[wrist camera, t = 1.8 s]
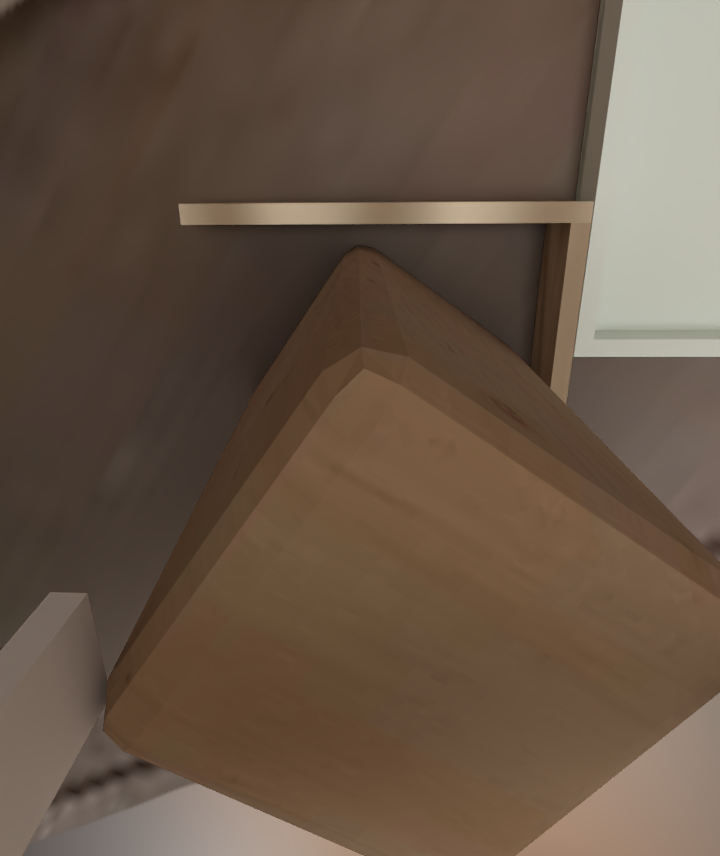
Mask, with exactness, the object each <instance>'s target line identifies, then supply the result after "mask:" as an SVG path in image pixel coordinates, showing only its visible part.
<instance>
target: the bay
mask: <svg viewBox="0 0 720 856" xmlns="http://www.w3.org/2000/svg"><path fill="white" fill-rule="evenodd" d="M178 205H179V213H180V222H181V225H280V224H463V223H546V229H545V238H544V247H543V256H542V265H541V274H540V283H539V292H538V301H537V310H536V319H535V328H534V337H533V346H532V355H531V364H530V368H531V369H532V370H533V371H534V372H535V373H536V374H537V375H538V376H539V377H540V378H541V379H542V380H543V381H544V383H545V384H546V385H547V386H548V387H549V388H550V389H551V390H552V391H553V392H554V393H555V394H556V395H557V396H558V397H559V398H560V399H561V400H562V401H563V402H564V403H565V404H566V401H567V394H568V387H569V380H570V372H571V365H572V358H573V351H574V344H575V336H576V329H577V322H578V315H579V308H580V300H581V293H582V286H583V279H584V271H585V264H586V257H587V250H588V243H589V235H590V228H591V221H592V214H593V207H594V201H440V202H280V203H190V204H178Z"/></svg>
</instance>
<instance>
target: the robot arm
mask: <svg viewBox="0 0 720 856" xmlns="http://www.w3.org/2000/svg"><path fill="white" fill-rule="evenodd" d="M106 696H107V678H106V673H105V669H104V664H103V660H102V656H101V651H100V647H99V642H98V638H97V634H96V629H95V625H94V620H93V616H92V611H91V607H90V603H89V598H88V594H87V593H59V592H50V593H49V594H48V596H47V597H46V598H45V599H44V600H43V601H42V603H41V604H40V605H39V606H38V607H37V608H36V610H35V611H34V612H33V613H32V614H31V615H30V617H29V618H28V619H27V620H26V621H25V623H24V624H23V625H22V626H21V627H20V628H19V630H18V631H17V632H16V633H15V634H14V635H13V637H12V638H11V639H10V640H9V641H8V642H7V644H6V645H5V646H4V647H3V648H2V650H1V651H0V856H22V855H23V853H24V851H25V849H26V848H27V846H28V844H29V842H30V841H31V839H32V837H33V835H34V833H35V832H36V830H37V828H38V826H39V824H40V823H41V821H42V819H43V817H44V815H45V813H46V812H47V810H48V808H49V806H50V804H51V803H52V801H53V799H54V797H55V795H56V794H57V792H58V790H59V788H60V786H61V785H62V783H63V781H64V779H65V777H66V776H67V774H68V772H69V770H70V768H71V767H72V765H73V763H74V761H75V759H76V758H77V756H78V754H79V752H80V750H81V748H82V747H83V745H84V743H85V741H86V739H87V738H88V736H89V734H90V732H91V730H92V729H93V727H94V725H95V723H96V721H97V720H98V718H99V716H100V714H101V712H102V711H103V709H104V707H105V705H106Z"/></svg>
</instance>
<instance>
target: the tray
mask: <svg viewBox="0 0 720 856" xmlns="http://www.w3.org/2000/svg"><path fill="white" fill-rule="evenodd" d="M575 201H594V207H593V214H592V221H591V228H590V235H589V243H588V250H587V257H586V264H585V271H584V279H583V286H582V293H581V300H580V308H579V315H578V322H577V329H576V336H575V344H574V351H573V357H720V0H601V1H600V9H599V17H598V25H597V33H596V41H595V49H594V56H593V64H592V72H591V80H590V88H589V96H588V104H587V112H586V120H585V127H584V135H583V143H582V151H581V159H580V167H579V175H578V183H577V190H576V198H575Z"/></svg>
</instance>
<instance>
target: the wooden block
mask: <svg viewBox="0 0 720 856" xmlns="http://www.w3.org/2000/svg"><path fill="white" fill-rule="evenodd" d="M719 692H720V562H719V561H718V560H717V559H716V558H715V557H714V556H713V555H712V554H711V553H710V552H709V551H708V550H707V548H706V547H705V546H704V545H703V544H702V543H701V542H700V541H699V540H698V539H697V538H696V537H695V536H694V535H693V534H692V533H691V532H690V531H689V530H688V529H687V528H686V527H685V526H684V525H683V524H682V523H681V522H680V521H679V520H678V519H677V518H676V517H675V516H674V515H673V514H672V513H671V512H670V511H669V510H668V509H667V508H666V506H665V505H664V504H663V503H662V502H661V501H660V500H659V499H658V498H657V497H656V496H655V495H654V494H653V493H652V492H651V491H650V490H649V489H648V488H647V487H646V486H645V485H644V484H643V483H642V482H641V481H640V480H639V479H638V478H637V477H636V476H635V475H634V474H633V473H632V472H631V471H630V470H629V469H628V468H627V467H626V466H625V464H624V463H623V462H622V461H621V460H620V459H619V458H618V457H617V456H616V455H615V454H614V453H613V452H612V451H611V450H610V449H609V448H608V447H607V446H606V445H605V444H604V443H603V442H602V441H601V440H600V439H599V438H598V437H597V436H596V435H595V434H594V433H593V432H592V431H591V430H590V429H589V428H588V427H587V426H586V425H585V424H584V422H583V421H582V420H581V419H580V418H579V417H578V416H577V415H576V414H575V413H574V412H573V411H572V410H571V409H570V408H569V407H568V406H567V405H566V404H565V403H564V402H563V401H562V400H561V399H560V398H559V397H558V396H557V395H556V394H555V393H554V392H553V391H552V390H551V389H550V388H549V387H548V386H547V385H546V384H545V383H544V381H543V380H542V379H541V378H540V377H539V376H538V375H537V374H536V373H535V372H534V371H533V370H532V369H531V368H530V367H529V366H528V365H527V364H526V363H525V362H524V361H523V360H522V359H521V358H520V357H519V356H518V355H517V354H516V353H515V352H514V351H513V350H512V349H511V348H510V347H509V346H508V345H506V344H505V343H503V342H502V341H501V340H499V339H498V338H497V337H495V336H494V335H492V334H491V333H490V332H488V331H487V330H486V329H484V328H483V327H481V326H480V325H479V324H477V323H476V322H475V321H473V320H472V319H470V318H469V317H468V316H466V315H465V314H464V313H462V312H461V311H460V310H458V309H457V308H455V307H454V306H453V305H451V304H450V303H449V302H447V301H446V300H444V299H443V298H442V297H440V296H439V295H438V294H436V293H435V292H433V291H432V290H431V289H429V288H428V287H427V286H425V285H424V284H422V283H421V282H420V281H418V280H417V279H416V278H414V277H413V276H411V275H410V274H409V273H407V272H406V271H405V270H403V269H402V268H400V267H399V266H398V265H396V264H395V263H394V262H392V261H391V260H389V259H388V258H387V257H385V256H384V255H383V254H381V253H380V252H379V251H377V250H376V249H373V248H369V247H364V246H360V245H358V246H357V247H355V248H354V249H352V250H351V251H349V252H348V253H346V254H345V255H344V256H343V257H342V259H341V260H340V262H339V264H338V265H337V267H336V268H335V270H334V271H333V273H332V274H331V276H330V277H329V279H328V280H327V282H326V283H325V285H324V286H323V288H322V289H321V291H320V293H319V294H318V296H317V297H316V299H315V300H314V302H313V303H312V305H311V306H310V308H309V309H308V311H307V312H306V314H305V315H304V317H303V318H302V320H301V321H300V323H299V325H298V326H297V328H296V329H295V331H294V332H293V334H292V335H291V337H290V338H289V340H288V341H287V343H286V344H285V346H284V347H283V349H282V350H281V352H280V353H279V355H278V357H277V358H276V360H275V361H274V363H273V364H272V366H271V367H270V369H269V370H268V372H267V373H266V375H265V376H264V378H263V379H262V381H261V382H260V384H259V385H258V387H257V389H256V390H255V392H254V393H253V395H252V397H251V399H250V401H249V403H248V405H247V407H246V409H245V411H244V413H243V415H242V417H241V419H240V421H239V423H238V425H237V427H236V429H235V431H234V433H233V435H232V437H231V439H230V440H229V442H228V444H227V446H226V448H225V450H224V452H223V454H222V456H221V458H220V460H219V462H218V464H217V466H216V468H215V470H214V472H213V474H212V476H211V478H210V480H209V482H208V484H207V486H206V488H205V490H204V492H203V494H202V496H201V498H200V499H199V501H198V503H197V505H196V507H195V509H194V511H193V513H192V515H191V517H190V519H189V521H188V523H187V525H186V527H185V529H184V531H183V533H182V535H181V537H180V539H179V541H178V543H177V545H176V547H175V549H174V551H173V553H172V555H171V557H170V559H169V560H168V562H167V564H166V566H165V568H164V570H163V572H162V574H161V576H160V578H159V580H158V582H157V584H156V586H155V588H154V590H153V592H152V594H151V596H150V598H149V600H148V602H147V604H146V606H145V608H144V610H143V612H142V614H141V616H140V618H139V619H138V621H137V623H136V625H135V627H134V629H133V631H132V633H131V635H130V637H129V639H128V641H127V643H126V645H125V647H124V649H123V651H122V653H121V655H120V657H119V659H118V661H117V663H116V665H115V667H114V669H113V671H112V673H111V675H110V677H109V678H108V680H107V696H106V710H105V717H104V725H103V731H104V732H105V733H106V734H107V735H108V736H109V737H110V738H111V739H112V740H113V741H114V742H115V743H116V744H117V745H118V746H119V747H120V748H121V749H122V750H123V751H124V752H126V753H129V754H131V755H133V756H136V757H138V758H140V759H143V760H145V761H147V762H149V763H152V764H154V765H156V766H159V767H161V768H163V769H166V770H168V771H170V772H172V773H175V774H177V775H179V776H182V777H184V778H186V779H189V780H191V781H193V782H196V783H198V784H201V785H203V786H205V787H207V788H209V789H212V790H214V791H216V792H219V793H221V794H223V795H225V796H228V797H230V798H233V799H235V800H237V801H239V802H242V803H244V804H246V805H249V806H251V807H253V808H255V809H258V810H260V811H263V812H265V813H267V814H270V815H272V816H274V817H276V818H278V819H281V820H283V821H285V822H288V823H290V824H292V825H295V826H297V827H299V828H302V829H304V830H306V831H309V832H311V833H313V834H315V835H318V836H320V837H322V838H325V839H327V840H329V841H331V842H334V843H336V844H339V845H341V846H343V847H346V848H348V849H350V850H352V851H355V852H357V853H359V854H361V855H364V856H515V855H517V854H518V853H519V852H520V851H522V850H523V849H524V848H525V847H527V846H528V845H529V844H530V843H532V842H533V841H534V840H535V839H537V838H538V837H539V836H540V835H542V834H543V833H544V832H545V831H547V830H548V829H549V828H550V827H552V826H553V825H554V824H555V823H557V822H558V821H559V820H560V819H562V818H563V817H564V816H565V815H567V814H568V813H569V812H570V811H572V810H573V809H574V808H575V807H577V806H578V805H579V804H580V803H582V802H583V801H584V800H585V799H586V798H588V797H589V796H590V795H591V794H593V793H594V792H595V791H597V790H598V789H599V788H601V787H602V786H603V785H604V784H606V783H607V782H608V781H609V780H610V779H612V777H614V776H615V775H617V774H618V773H619V772H621V771H622V770H623V769H624V768H626V767H627V766H628V765H629V764H631V763H632V762H633V761H634V760H636V759H637V758H638V757H639V756H641V755H642V754H643V753H644V752H645V751H647V750H648V749H649V748H651V747H652V746H653V745H654V744H656V743H657V742H658V741H659V740H661V739H662V738H663V737H664V736H666V735H667V734H668V733H669V732H670V731H672V730H673V729H674V728H676V727H677V726H678V725H679V724H681V723H682V722H683V721H684V720H685V719H687V718H688V717H689V716H690V715H692V714H693V713H694V712H696V711H697V710H698V709H699V708H701V707H702V706H703V705H704V704H706V703H707V702H708V701H709V700H711V699H712V698H713V697H714V696H715V695H717V694H718V693H719Z"/></svg>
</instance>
